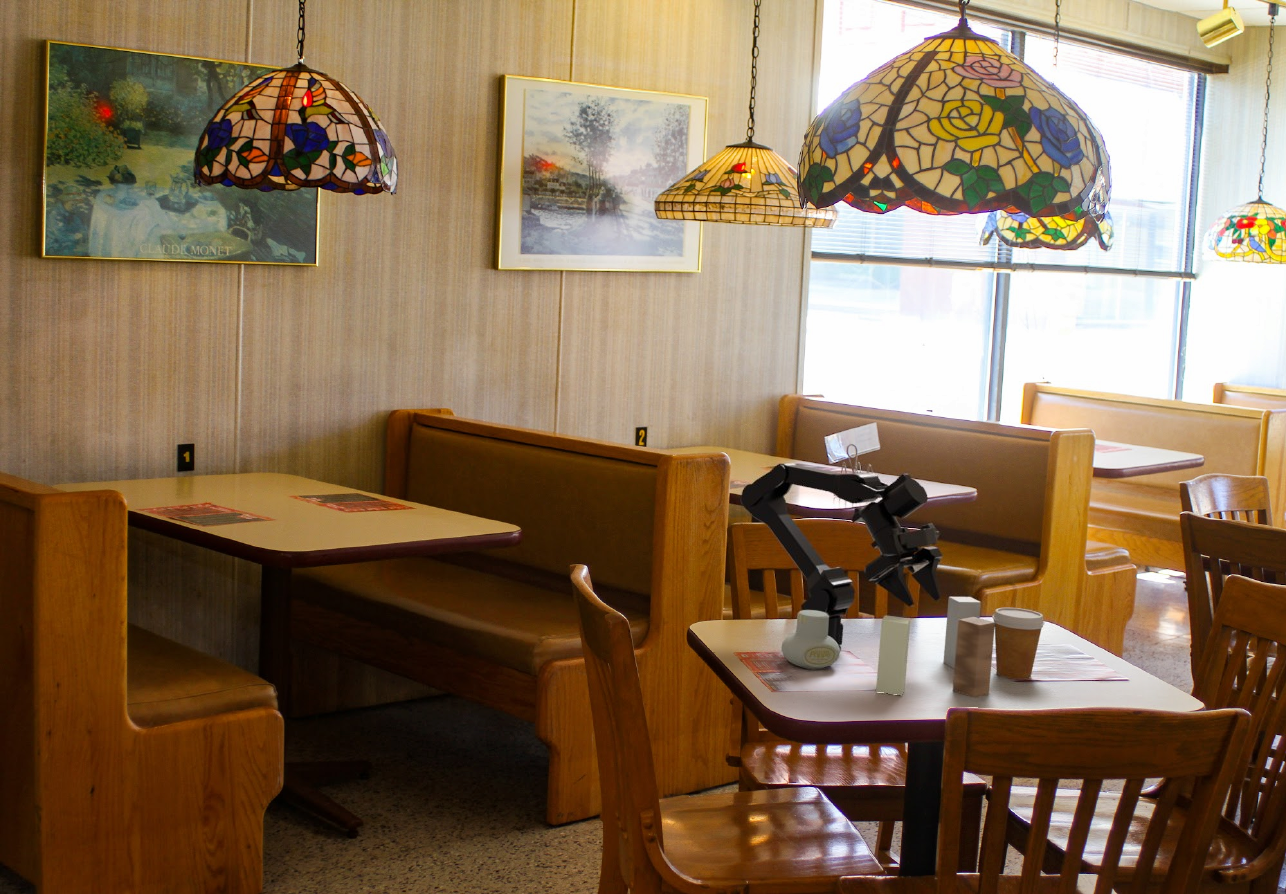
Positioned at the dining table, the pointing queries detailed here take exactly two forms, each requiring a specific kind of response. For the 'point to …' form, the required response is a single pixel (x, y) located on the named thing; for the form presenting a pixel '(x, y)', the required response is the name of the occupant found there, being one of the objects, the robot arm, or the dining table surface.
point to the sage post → (893, 655)
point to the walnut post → (973, 656)
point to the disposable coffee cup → (1016, 641)
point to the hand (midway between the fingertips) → (925, 602)
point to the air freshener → (811, 642)
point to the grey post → (956, 611)
